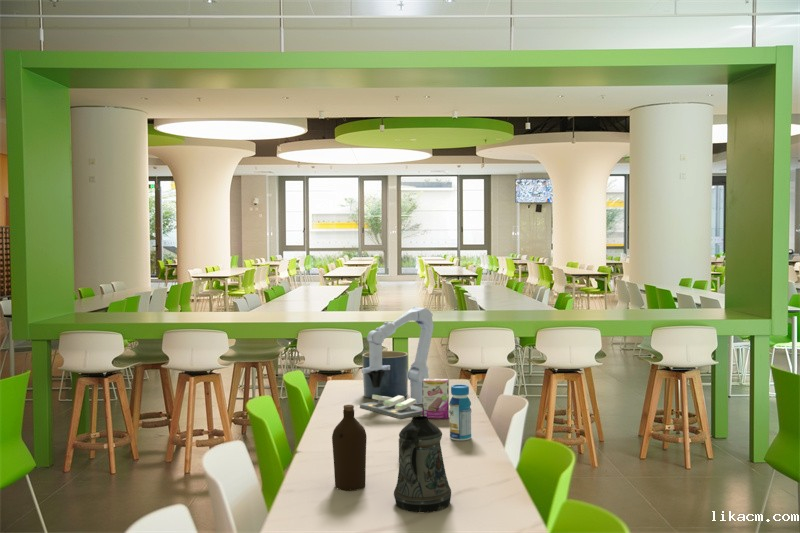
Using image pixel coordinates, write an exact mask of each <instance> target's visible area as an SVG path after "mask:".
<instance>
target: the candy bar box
mask: <svg viewBox="0 0 800 533" xmlns="http://www.w3.org/2000/svg"><path fill="white" fill-rule="evenodd" d="M422 389H423V390H422V392H423V404H422V408H423V414H422V416H426V417H427V418H428V420H434V419H435V420H449V419H450V413H449V409H450V405H449V403H450V379H449V378H428V379H423V381H422Z"/></svg>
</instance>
